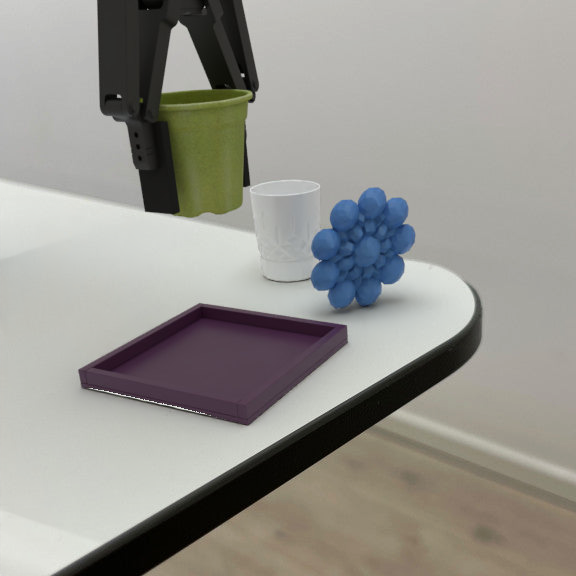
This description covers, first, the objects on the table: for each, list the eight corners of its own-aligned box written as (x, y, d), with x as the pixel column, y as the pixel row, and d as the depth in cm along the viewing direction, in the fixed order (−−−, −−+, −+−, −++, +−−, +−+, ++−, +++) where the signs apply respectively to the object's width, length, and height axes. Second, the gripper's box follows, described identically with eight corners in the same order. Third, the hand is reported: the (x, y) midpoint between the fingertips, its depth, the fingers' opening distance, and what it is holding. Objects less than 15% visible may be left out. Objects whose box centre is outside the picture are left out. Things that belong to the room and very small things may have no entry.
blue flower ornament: (395, 283, 85) (393, 174, 80) (426, 302, 79) (426, 185, 74) (297, 303, 80) (289, 188, 75) (323, 324, 75) (315, 201, 70)
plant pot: (213, 229, 56) (198, 105, 52) (119, 217, 60) (98, 102, 56) (285, 200, 63) (276, 89, 59) (196, 191, 67) (183, 88, 64)
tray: (81, 387, 64) (77, 369, 63) (201, 318, 77) (199, 302, 77) (248, 425, 57) (245, 405, 56) (348, 342, 70) (347, 325, 70)
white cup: (305, 287, 85) (298, 197, 80) (244, 279, 88) (235, 192, 84) (336, 266, 91) (332, 181, 87) (279, 259, 94) (272, 178, 90)
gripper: (83, -170, 41) (148, 237, 51) (288, -124, 59) (308, 173, 68) (-14, -153, 44) (64, 228, 54) (208, -114, 62) (238, 169, 71)
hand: (200, 197), depth 61 cm, fingers closed on plant pot, 9 cm apart
